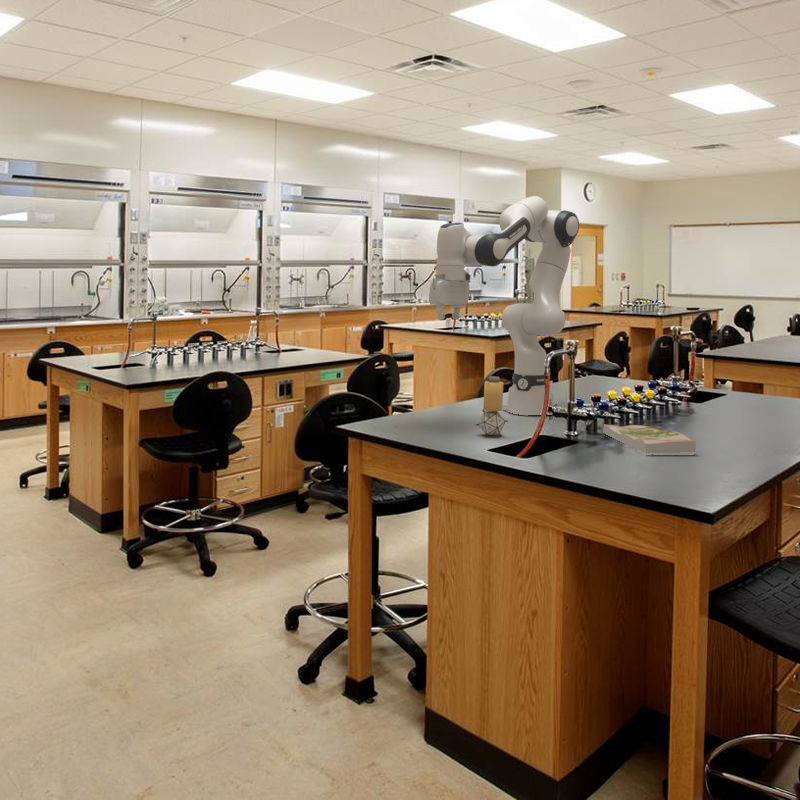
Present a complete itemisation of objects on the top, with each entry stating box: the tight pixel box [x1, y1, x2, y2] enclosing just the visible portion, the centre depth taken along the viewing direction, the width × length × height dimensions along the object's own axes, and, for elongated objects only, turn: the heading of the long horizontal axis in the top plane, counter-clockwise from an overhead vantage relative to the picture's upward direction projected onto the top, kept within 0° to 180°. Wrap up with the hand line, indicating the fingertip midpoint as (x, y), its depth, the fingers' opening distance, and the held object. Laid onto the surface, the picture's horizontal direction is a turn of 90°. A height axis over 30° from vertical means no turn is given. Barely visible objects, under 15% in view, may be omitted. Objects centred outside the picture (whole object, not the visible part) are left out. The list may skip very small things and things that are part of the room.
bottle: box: [482, 375, 504, 412], centre depth 237 cm, size 6×6×10 cm
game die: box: [475, 409, 509, 438], centre depth 238 cm, size 9×8×10 cm
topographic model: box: [602, 423, 697, 454], centre depth 231 cm, size 30×14×5 cm, turn 8°
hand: (448, 319), depth 250 cm, fingers open, 8 cm apart
